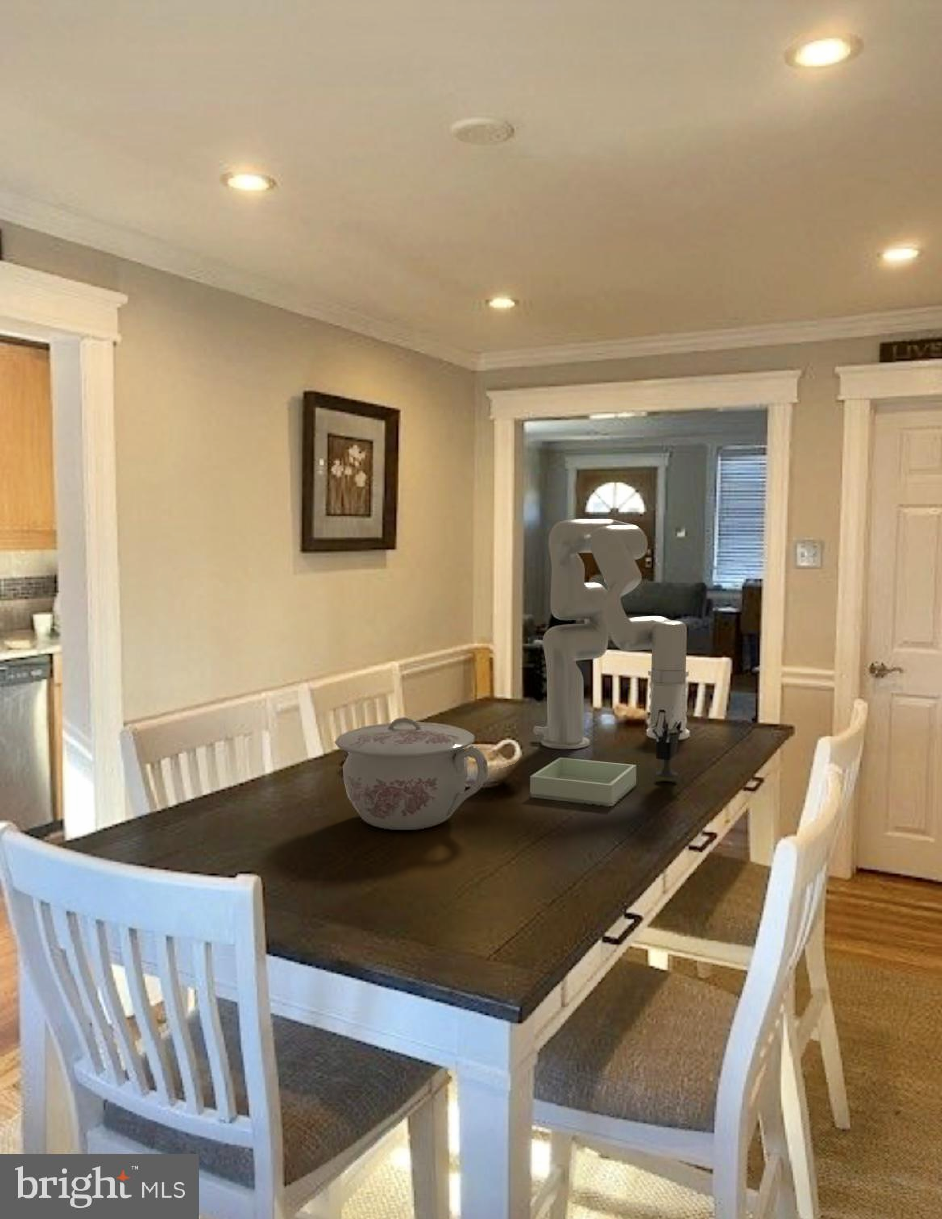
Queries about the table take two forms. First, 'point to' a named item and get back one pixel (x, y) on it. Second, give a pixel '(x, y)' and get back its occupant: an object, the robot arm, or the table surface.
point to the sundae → (674, 743)
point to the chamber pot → (409, 772)
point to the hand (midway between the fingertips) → (666, 755)
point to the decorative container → (683, 715)
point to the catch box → (583, 781)
